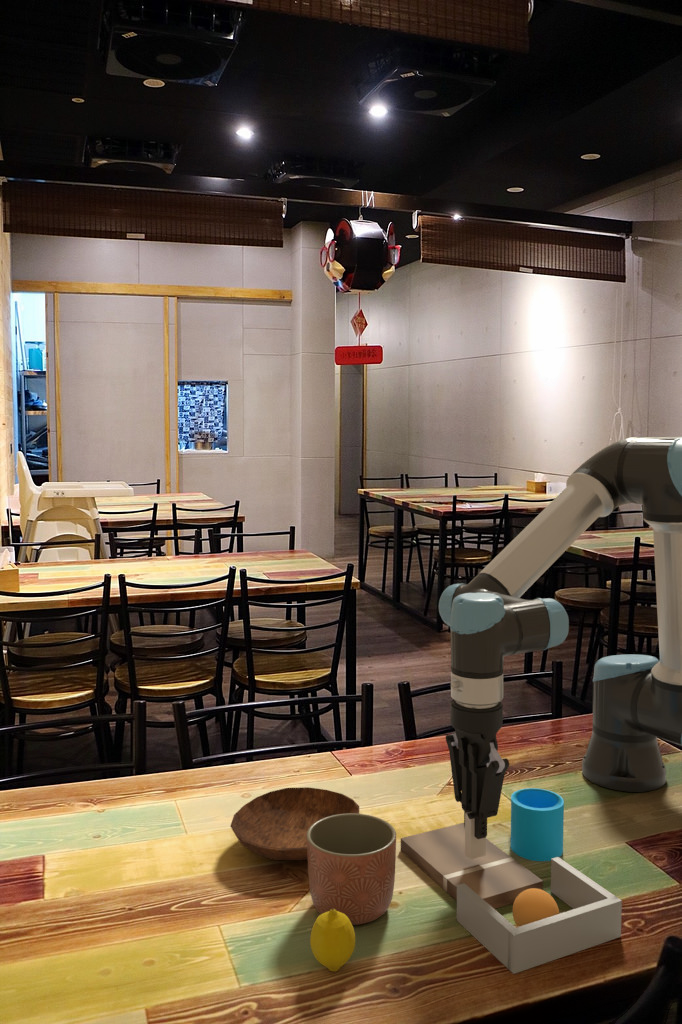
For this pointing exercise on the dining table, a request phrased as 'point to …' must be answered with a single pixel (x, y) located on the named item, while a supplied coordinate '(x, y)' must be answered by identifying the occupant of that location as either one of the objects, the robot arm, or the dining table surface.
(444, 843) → the board
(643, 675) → the robot arm
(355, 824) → the planter
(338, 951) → the fruit
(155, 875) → the dining table surface
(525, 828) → the mug
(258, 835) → the bowl
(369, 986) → the dining table surface
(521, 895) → the ball
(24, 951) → the dining table surface
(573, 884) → the grey frame
